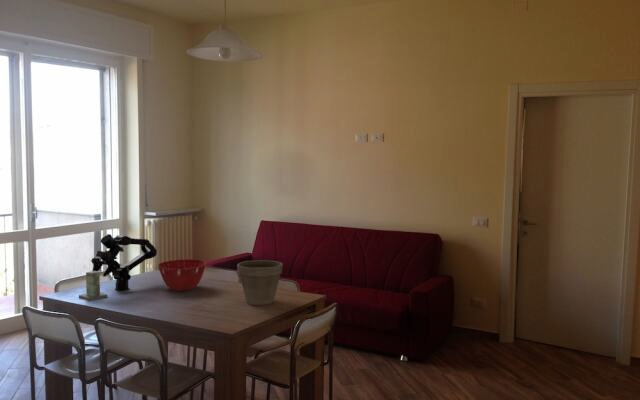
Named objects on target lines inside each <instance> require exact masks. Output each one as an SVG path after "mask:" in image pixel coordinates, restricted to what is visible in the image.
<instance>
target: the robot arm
mask: <svg viewBox="0 0 640 400" xmlns="http://www.w3.org/2000/svg"><path fill="white" fill-rule="evenodd" d="M100 243H101V244H102V245H103V246H104V247H105V248H106V249H108V250H104V251H102V250H97V251H96V255H95V257H92V259H91V260H90V262H91V263H92V270H91V271H98V272H99V270H101V269H102V267H103V266H107V267H106V269H105V271H104V273H103V274H102V277H104V278H105V277H106V276H108V275H110V274H111V275H112V277H113V279H114V280H115V281H116V282H115V288H114V290H115V291H119V292H122V291H123V292H124V291H128V290H130V289H131V288H130V287H129V280H131V277H132V275H130V274H129V273H130V271H131V270H133V269H134V268H136V267H137V266H139V265H141V264H142V263H143V262H145V261H146V260H149V259H153V258H155V257H156V256H157V253H158V251H157V250H158V249H156V248H155V246H154V245H153V244H152V243H151V242H150V240H149V239H148V238H147V239H146V238H134V237H133V238H132V237H131V236H130V237H129V236H127V235H116V236H115V237H113V236H112V235H111V234H110V233H108V234H106V235H105V236H103V237H102V238H101V239H100ZM130 245H139V246H140V249H141V251H140V254H139V255H137V256H136V257H134V258H132V259H131V260H130V261H128V262H126V263H125V264H122V263H119V262H118V261H117V259H118V255H119V253H120V252H121V253H122V252H125V250H124V246H125V247H126V246H130ZM98 257H99V258H98Z"/></svg>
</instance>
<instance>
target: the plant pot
mask: <svg viewBox="0 0 640 400" xmlns="http://www.w3.org/2000/svg"><path fill="white" fill-rule="evenodd" d="M236 266H237V269H236V270H237V274H238V275H239V278H240V282H241V286H242V289H243V294H244V297H245V302H246V304H248V305H251V306H269V305H271V304H273V303H274V301H275V297H276V293H277V289H278V285H279V282H280V279H281V274H282V273H283V267H284V265H283V262H280V261H276V260H267V259H265V260H263V259H262V260H261V259H260V260H259V259H258V260H257V259H256V260H246V261H242V262H239V263H237V265H236Z"/></svg>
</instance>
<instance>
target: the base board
mask: <svg viewBox="0 0 640 400" xmlns="http://www.w3.org/2000/svg"><path fill="white" fill-rule="evenodd" d="M105 297H106V298H108V294H107V293H104V292H101V291H100V294H99V295H96V296H88V295H87V293H82V294H78V298H79V299H81V298H82V299H81V300H84V299H85V300H86V301H87V300H88V302H91V300H92V301H96V300H100V299H104V298H105ZM85 300H84V301H85Z"/></svg>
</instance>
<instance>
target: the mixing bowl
mask: <svg viewBox="0 0 640 400" xmlns="http://www.w3.org/2000/svg"><path fill="white" fill-rule="evenodd" d="M206 265H207V262H206V261H205V260H201V259H193V258H191V259H190V258H186V259H173V260H166V261H163V262H160V263H158V264H157V267H158V269H159V273H160V276H161V278H162V280H163V283H164V284H165V285H166V287H168V288H169V289H171V290H172V291H176V292H186V291H191V290H194V289H195V288H196V287H197V286H198V285H199V284H200V282H201V280H202V277H203V274H204V271H205V268H206Z"/></svg>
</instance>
